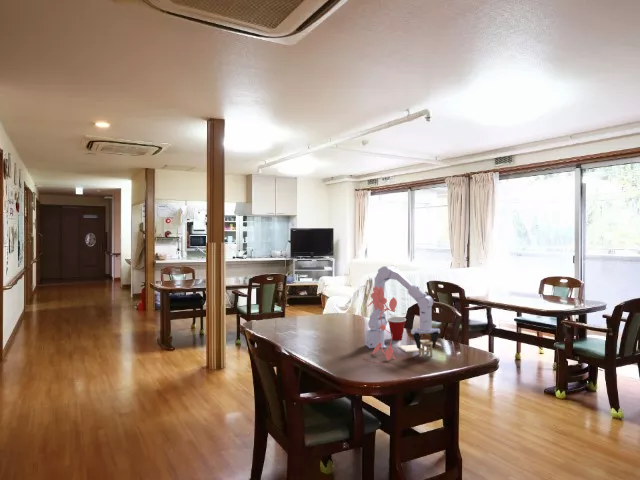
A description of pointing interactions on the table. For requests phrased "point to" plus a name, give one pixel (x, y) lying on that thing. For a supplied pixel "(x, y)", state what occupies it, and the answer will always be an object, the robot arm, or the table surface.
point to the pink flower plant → (379, 303)
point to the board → (411, 348)
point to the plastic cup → (396, 327)
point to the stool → (427, 347)
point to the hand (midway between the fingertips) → (425, 348)
